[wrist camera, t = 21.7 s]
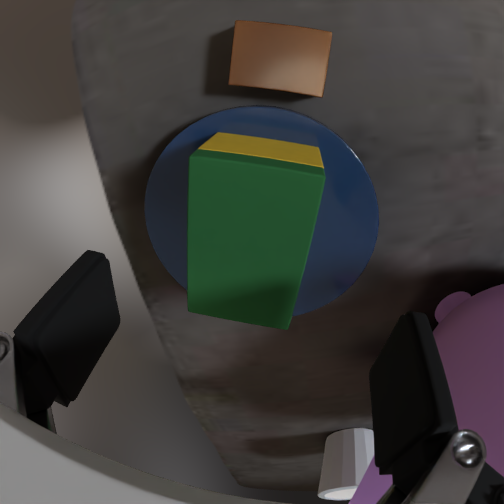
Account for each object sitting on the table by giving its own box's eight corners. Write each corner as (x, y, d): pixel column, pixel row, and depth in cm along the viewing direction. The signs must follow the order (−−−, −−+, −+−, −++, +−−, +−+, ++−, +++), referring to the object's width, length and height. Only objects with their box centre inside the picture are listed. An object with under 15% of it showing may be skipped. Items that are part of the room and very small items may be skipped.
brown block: (329, 35, 11) (332, 32, 10) (320, 95, 13) (322, 97, 12) (240, 23, 11) (235, 20, 10) (233, 83, 13) (227, 85, 12)
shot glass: (393, 427, 27) (398, 485, 21) (361, 451, 31) (362, 501, 25) (337, 422, 27) (336, 485, 21) (310, 446, 31) (306, 499, 25)
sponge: (319, 146, 13) (326, 176, 10) (292, 276, 17) (288, 330, 13) (217, 131, 13) (187, 155, 10) (208, 261, 17) (187, 312, 14)
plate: (400, 132, 13) (408, 137, 12) (340, 318, 20) (341, 332, 19) (153, 95, 14) (142, 98, 13) (158, 286, 20) (151, 297, 19)
